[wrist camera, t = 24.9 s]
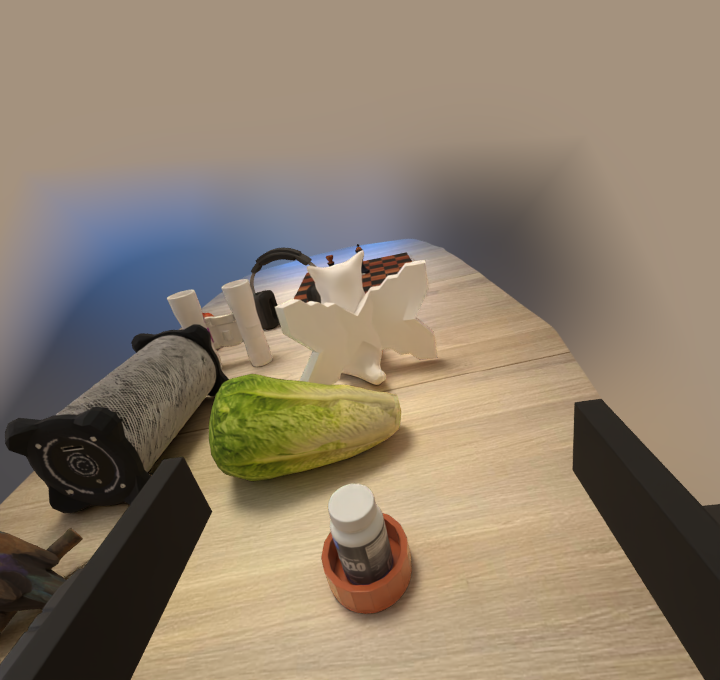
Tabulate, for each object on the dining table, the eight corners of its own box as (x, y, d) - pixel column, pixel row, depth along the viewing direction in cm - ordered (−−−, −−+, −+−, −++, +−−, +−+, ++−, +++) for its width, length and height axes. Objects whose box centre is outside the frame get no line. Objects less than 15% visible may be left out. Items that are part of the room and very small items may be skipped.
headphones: (255, 331, 101) (230, 259, 93) (265, 322, 106) (242, 253, 98) (333, 322, 95) (314, 244, 87) (339, 313, 101) (321, 238, 93)
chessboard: (406, 255, 145) (402, 226, 141) (423, 283, 109) (418, 246, 104) (307, 275, 148) (300, 247, 144) (290, 309, 112) (280, 274, 108)
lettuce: (394, 419, 59) (409, 498, 46) (238, 428, 58) (210, 510, 46) (395, 342, 52) (413, 409, 39) (219, 351, 51) (180, 422, 39)
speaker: (54, 521, 49) (-16, 432, 43) (167, 399, 75) (134, 331, 69) (156, 511, 47) (98, 415, 41) (237, 388, 73) (209, 318, 67)
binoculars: (276, 353, 85) (251, 277, 77) (271, 365, 80) (243, 285, 72) (206, 365, 86) (174, 292, 79) (196, 377, 82) (161, 300, 74)
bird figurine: (154, 552, 41) (-11, 433, 36) (77, 663, 32) (-153, 525, 27) (104, 583, 46) (-44, 484, 42) (27, 683, 38) (-168, 572, 33)
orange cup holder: (423, 545, 36) (419, 523, 35) (391, 629, 30) (385, 607, 29) (354, 522, 40) (348, 502, 39) (313, 593, 34) (305, 572, 33)
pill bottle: (334, 571, 35) (311, 508, 31) (366, 533, 38) (349, 471, 34) (372, 603, 32) (351, 536, 28) (404, 558, 35) (389, 493, 31)
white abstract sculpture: (391, 330, 83) (374, 234, 75) (448, 365, 65) (434, 244, 56) (284, 370, 76) (251, 269, 67) (314, 423, 58) (274, 293, 49)
